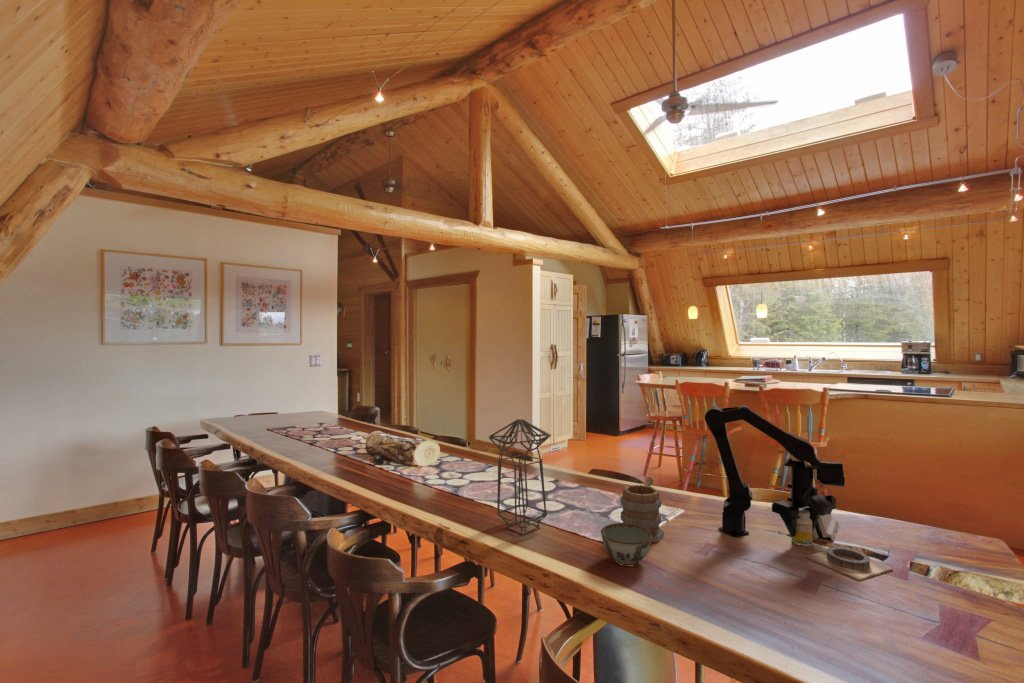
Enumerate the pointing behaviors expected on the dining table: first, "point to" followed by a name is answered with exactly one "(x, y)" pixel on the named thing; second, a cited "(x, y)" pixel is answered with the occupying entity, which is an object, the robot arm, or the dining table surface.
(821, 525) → the grey piece
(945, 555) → the dining table surface
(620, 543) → the bowl
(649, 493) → the tankard
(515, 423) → the geometric lantern
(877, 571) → the ring holder
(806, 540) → the supplement bottle
